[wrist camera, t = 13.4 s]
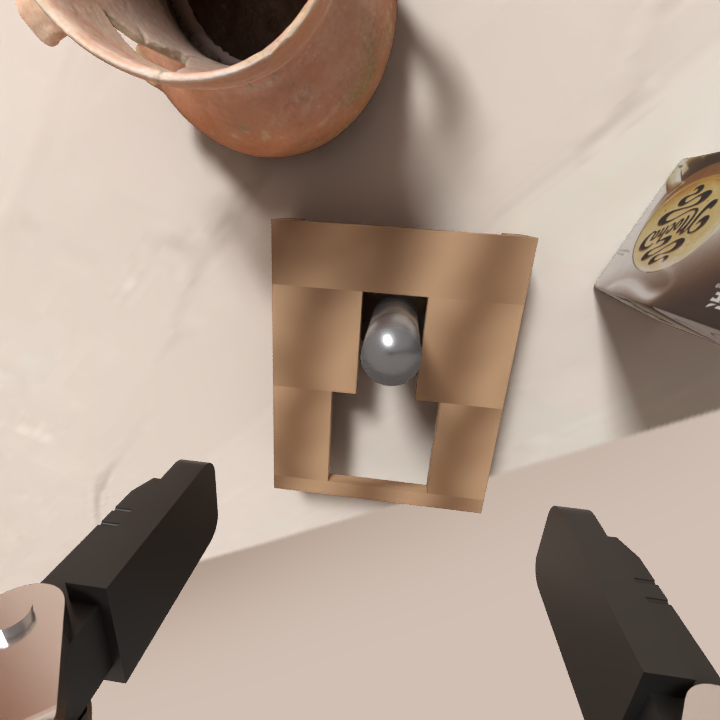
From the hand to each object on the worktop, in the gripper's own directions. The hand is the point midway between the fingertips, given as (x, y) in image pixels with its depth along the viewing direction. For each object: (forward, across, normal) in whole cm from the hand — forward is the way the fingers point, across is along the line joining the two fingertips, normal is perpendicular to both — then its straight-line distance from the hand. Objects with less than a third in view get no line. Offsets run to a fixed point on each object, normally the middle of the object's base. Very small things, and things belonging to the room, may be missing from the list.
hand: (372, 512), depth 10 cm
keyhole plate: (+22, 0, +4) cm, 22 cm away
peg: (+22, 0, 0) cm, 22 cm away
